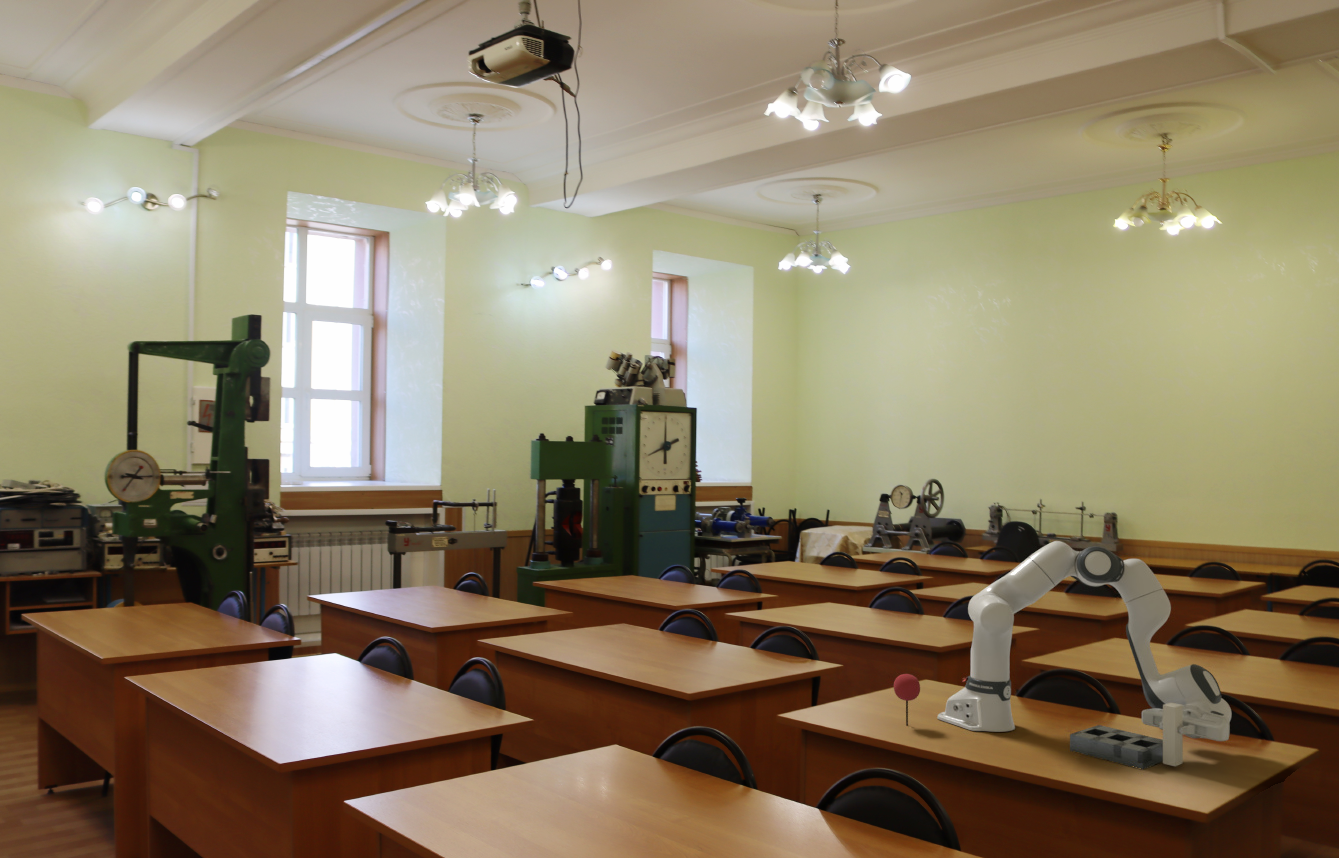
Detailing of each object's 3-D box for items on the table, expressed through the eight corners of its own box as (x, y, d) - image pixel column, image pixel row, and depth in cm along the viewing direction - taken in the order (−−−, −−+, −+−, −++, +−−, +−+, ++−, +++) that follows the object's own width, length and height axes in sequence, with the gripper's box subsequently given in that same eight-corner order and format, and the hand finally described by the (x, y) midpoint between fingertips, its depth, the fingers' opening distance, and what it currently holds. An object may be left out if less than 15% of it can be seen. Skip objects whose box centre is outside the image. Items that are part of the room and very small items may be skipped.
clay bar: (1174, 766, 242) (1175, 707, 243) (1162, 763, 245) (1162, 704, 245) (1182, 763, 245) (1182, 704, 246) (1170, 760, 248) (1170, 702, 248)
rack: (1142, 769, 243) (1142, 751, 243) (1069, 750, 258) (1070, 734, 259) (1170, 758, 253) (1170, 741, 253) (1098, 740, 268) (1098, 724, 269)
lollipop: (917, 722, 285) (918, 671, 285) (921, 729, 277) (922, 677, 278) (891, 721, 285) (892, 670, 286) (895, 728, 278) (895, 676, 278)
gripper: (1154, 700, 262) (1130, 707, 253) (1235, 716, 246) (1213, 725, 237) (1154, 723, 261) (1130, 731, 253) (1235, 741, 245) (1212, 750, 237)
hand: (1171, 728), depth 245 cm, fingers closed on clay bar, 3 cm apart
